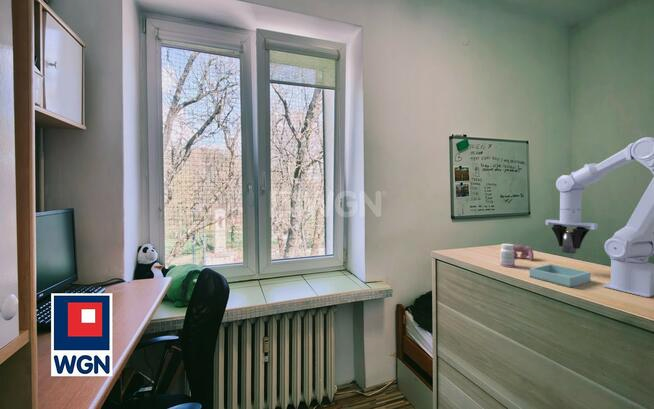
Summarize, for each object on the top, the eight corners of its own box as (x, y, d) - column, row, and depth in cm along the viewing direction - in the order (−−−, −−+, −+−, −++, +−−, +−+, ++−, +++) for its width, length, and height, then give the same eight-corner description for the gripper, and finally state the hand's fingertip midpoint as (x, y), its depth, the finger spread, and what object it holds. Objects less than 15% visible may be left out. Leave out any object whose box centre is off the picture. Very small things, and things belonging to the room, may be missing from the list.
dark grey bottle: (579, 252, 99) (579, 231, 98) (572, 254, 97) (573, 232, 97) (565, 250, 103) (566, 229, 102) (559, 251, 101) (559, 230, 100)
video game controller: (533, 263, 118) (532, 246, 120) (534, 260, 114) (533, 244, 116) (505, 260, 123) (505, 245, 125) (505, 257, 119) (505, 242, 121)
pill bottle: (516, 267, 107) (517, 245, 106) (503, 267, 108) (503, 245, 107) (511, 264, 112) (511, 243, 111) (498, 263, 113) (498, 243, 112)
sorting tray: (590, 281, 90) (590, 272, 90) (569, 287, 85) (570, 278, 85) (549, 272, 100) (549, 263, 100) (529, 277, 96) (529, 268, 96)
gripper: (602, 209, 94) (601, 249, 95) (553, 207, 107) (552, 242, 108) (591, 211, 91) (590, 252, 92) (542, 208, 104) (541, 244, 105)
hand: (569, 247), depth 100 cm, fingers closed on dark grey bottle, 4 cm apart
